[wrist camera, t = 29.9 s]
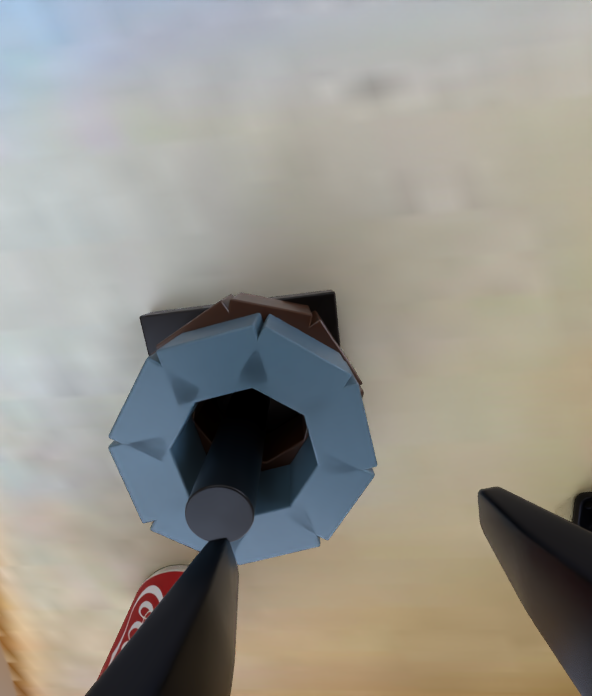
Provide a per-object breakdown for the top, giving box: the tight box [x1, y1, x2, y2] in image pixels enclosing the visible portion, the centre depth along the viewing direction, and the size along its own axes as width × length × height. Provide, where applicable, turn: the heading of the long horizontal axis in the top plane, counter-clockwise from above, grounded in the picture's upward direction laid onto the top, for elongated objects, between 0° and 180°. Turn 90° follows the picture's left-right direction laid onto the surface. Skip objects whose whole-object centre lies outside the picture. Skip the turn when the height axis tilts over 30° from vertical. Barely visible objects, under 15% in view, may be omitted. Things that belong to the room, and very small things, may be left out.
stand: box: [140, 290, 340, 542], centre depth 13 cm, size 9×9×9 cm
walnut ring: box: [151, 292, 364, 471], centre depth 15 cm, size 9×9×3 cm
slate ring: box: [108, 313, 377, 565], centre depth 13 cm, size 9×9×3 cm
